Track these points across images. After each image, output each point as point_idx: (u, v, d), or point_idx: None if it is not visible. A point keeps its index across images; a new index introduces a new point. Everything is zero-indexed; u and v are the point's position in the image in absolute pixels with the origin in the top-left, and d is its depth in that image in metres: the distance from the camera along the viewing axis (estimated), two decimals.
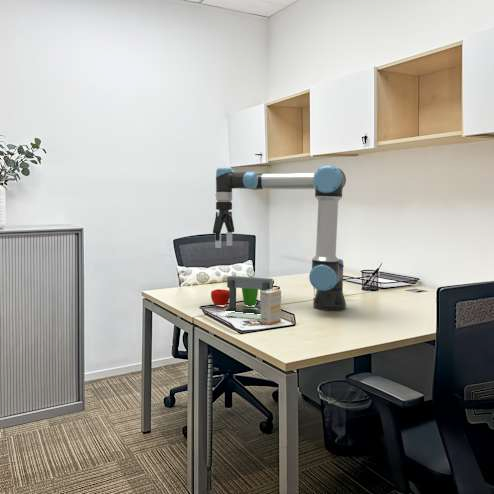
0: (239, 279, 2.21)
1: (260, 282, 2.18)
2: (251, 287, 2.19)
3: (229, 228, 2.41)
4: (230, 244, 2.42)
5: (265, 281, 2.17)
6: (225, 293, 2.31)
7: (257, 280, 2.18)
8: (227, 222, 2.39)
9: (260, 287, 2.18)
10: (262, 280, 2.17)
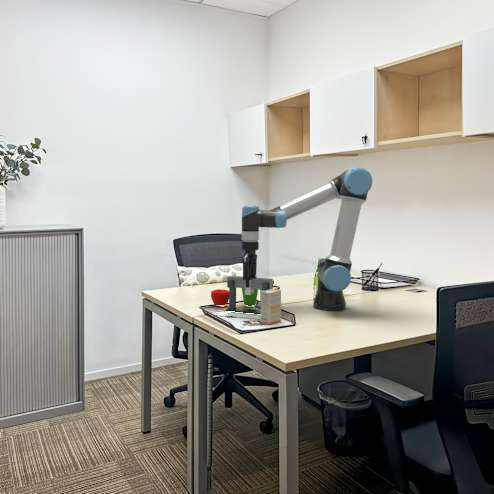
0: (239, 279, 2.21)
1: (260, 282, 2.18)
2: (251, 287, 2.19)
3: (252, 273, 2.23)
4: (252, 292, 2.23)
5: (265, 281, 2.17)
6: (225, 293, 2.31)
7: (257, 280, 2.18)
8: (251, 264, 2.22)
9: (260, 287, 2.18)
10: (262, 280, 2.17)
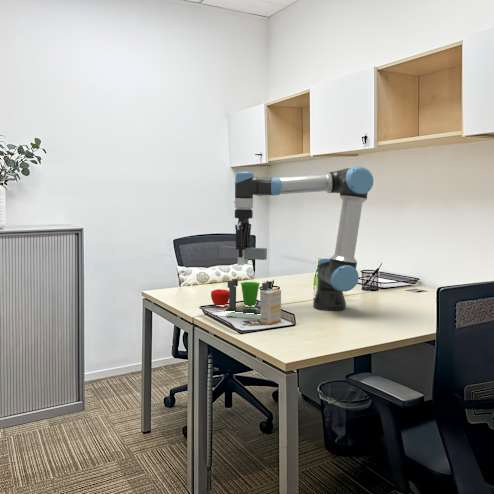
0: (232, 249, 2.12)
1: (254, 252, 2.09)
2: (244, 257, 2.10)
3: (245, 243, 2.14)
4: (245, 262, 2.14)
5: (259, 250, 2.08)
6: (225, 293, 2.31)
7: (250, 250, 2.09)
8: (245, 234, 2.13)
9: (254, 257, 2.09)
10: (256, 249, 2.08)
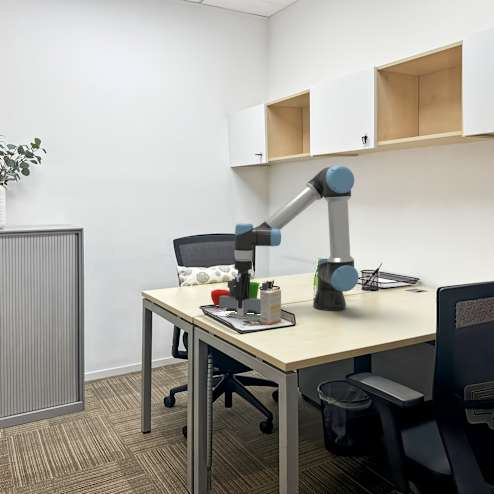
0: (231, 299, 2.14)
1: (253, 303, 2.11)
2: (244, 307, 2.12)
3: (245, 292, 2.16)
4: (245, 312, 2.16)
5: (258, 302, 2.10)
6: (225, 293, 2.31)
7: (250, 301, 2.11)
8: (244, 284, 2.15)
9: (253, 308, 2.11)
10: (255, 301, 2.10)
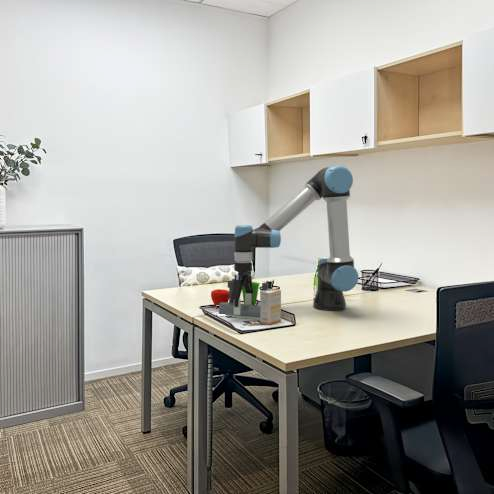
0: (231, 306, 2.14)
1: (253, 310, 2.11)
2: (244, 314, 2.12)
3: (248, 289, 2.19)
4: None
5: (258, 309, 2.10)
6: (225, 293, 2.31)
7: (250, 307, 2.11)
8: (246, 283, 2.17)
9: (253, 315, 2.11)
10: (255, 308, 2.10)
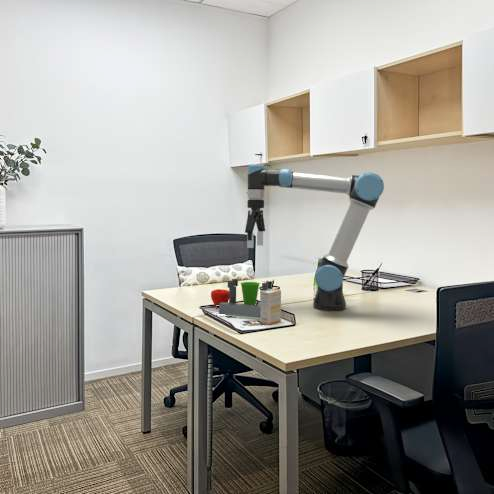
0: (231, 306, 2.14)
1: (253, 310, 2.11)
2: (244, 314, 2.12)
3: (260, 227, 2.31)
4: (261, 244, 2.32)
5: (258, 309, 2.10)
6: (225, 293, 2.31)
7: (250, 307, 2.11)
8: (258, 221, 2.29)
9: (253, 315, 2.11)
10: (255, 308, 2.10)
